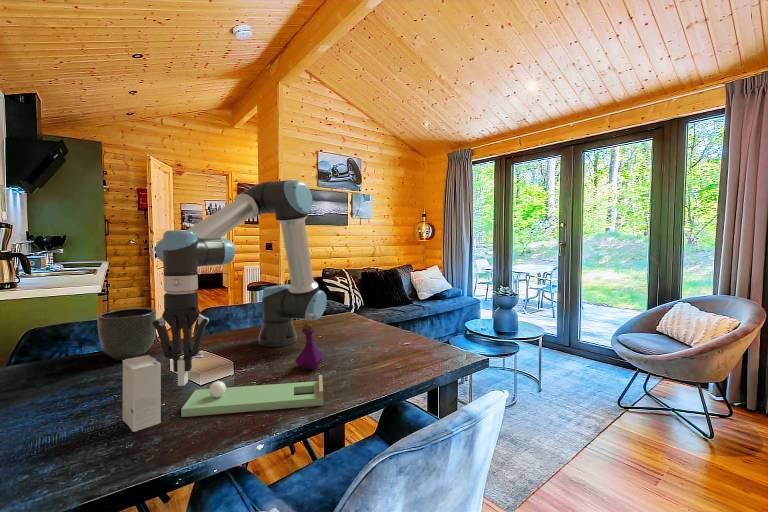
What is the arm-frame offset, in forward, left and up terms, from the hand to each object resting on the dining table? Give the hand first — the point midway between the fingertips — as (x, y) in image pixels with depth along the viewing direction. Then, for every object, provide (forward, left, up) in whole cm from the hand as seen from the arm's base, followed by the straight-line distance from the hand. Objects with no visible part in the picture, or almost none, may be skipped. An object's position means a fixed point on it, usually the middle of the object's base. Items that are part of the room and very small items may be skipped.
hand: (183, 383), depth 93 cm
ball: (0, +8, -2) cm, 8 cm away
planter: (-44, -32, -7) cm, 55 cm away
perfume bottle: (-23, +32, -7) cm, 39 cm away
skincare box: (+6, -7, -7) cm, 11 cm away
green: (0, +18, -6) cm, 19 cm away
